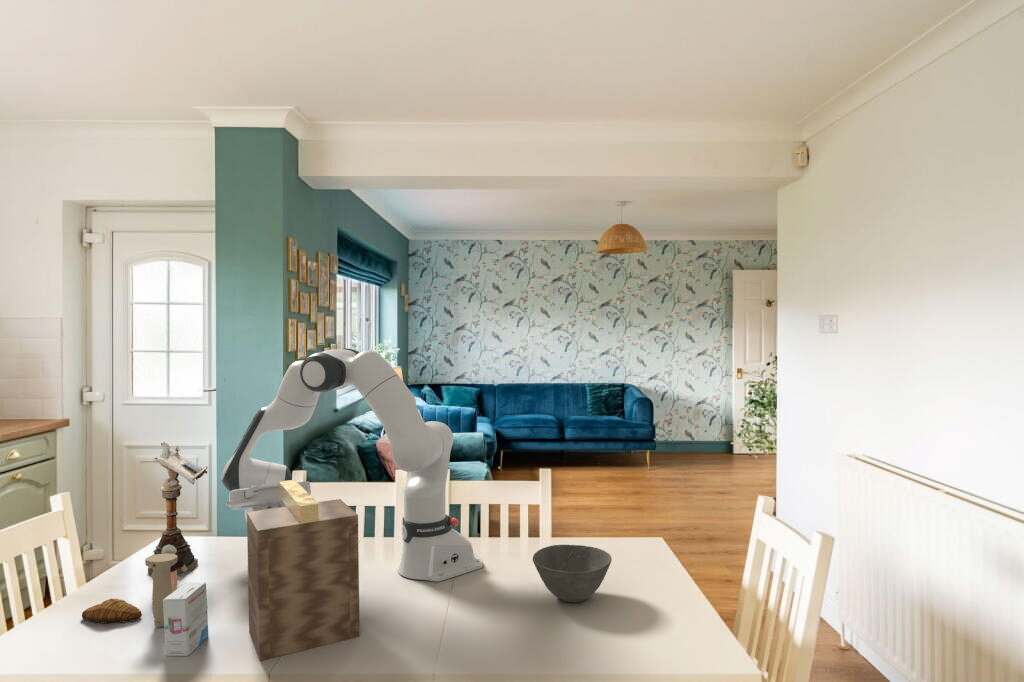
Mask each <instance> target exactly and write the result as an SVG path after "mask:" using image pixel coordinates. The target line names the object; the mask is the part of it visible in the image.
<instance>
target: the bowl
mask: <svg viewBox="0 0 1024 682" xmlns="http://www.w3.org/2000/svg"><path fill="white" fill-rule="evenodd" d="M532 562H533V564H534V566H535V569H536V571H537V572H538V575H539V577H540V579H541V580H542V582H543V584H544V585H545V588H546V589H547V590H548V591H549V592H550V593H551V594H552V595H553V596H554V597H556V598H558V599H559V600H561V601H564V602H566V603H579V602H582V601H586V600H587V599H588V598H589V597H591V596H592V595H593V594H595V593H596V592H597V590H598V589H599V588H600V586H601V585H602V583H603V582H604V579H605V578H606V575H607V572H608V570H609V568H610V566H611V563H612V556H611V555H610V553H609V552H607V551H605V550H603V549H601V548H597V547H594V546H587V545H582V544H581V545H580V544H577V545H576V544H552V545H549V546H545V547H542V548H541V549H539V550H537V551H535V553H534V554H533V556H532Z"/></svg>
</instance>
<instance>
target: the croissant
mask: <svg viewBox="0 0 1024 682" xmlns="http://www.w3.org/2000/svg"><path fill="white" fill-rule="evenodd" d="M142 616H143V614H142V611H141V609H139V608H138V607H136V606H135V605H133V604H131V603H128V602H127V601H126V600H124V599H121V598H109V599H106V600H104V601H103V602H101V603H99V604H95V605H93V606H90V607H87V608H86V609H85V610H83V611H82V613H81V618H82V619H83V620H85V621H89V622H93V623H94V622H95V623H99V624H113V623H114V624H115V623H129V622H134V621H138V620H140V619H141V618H142Z"/></svg>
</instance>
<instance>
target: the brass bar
mask: <svg viewBox="0 0 1024 682" xmlns="http://www.w3.org/2000/svg"><path fill="white" fill-rule="evenodd" d="M279 497H280V499H281V500H282V501H283V503H284V504H285V505H286V506H287V508H288V509H289V510H290V511H291V513H292V514H293V515H294V516H295V518H296V519H297V520H298V521H299V523H300V524H303V523H309V522H316V521H319V519H318V503H317V502H318V501H316V499H315V498H314V497H312V495H309V494H308V493H307V492H306V491H305V490H304V488H303V487H302V486H301V485H300V484H299V483H298V481H297V479H292V480H288V481H279Z"/></svg>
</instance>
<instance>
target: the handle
mask: <svg viewBox="0 0 1024 682" xmlns="http://www.w3.org/2000/svg"><path fill="white" fill-rule="evenodd" d="M144 561H145V563H144V564H145V566H147V568H148V567H150V568H152V569H153V578H152V595H151V596H152V597H151V598H152V600H151V602H152V604H151V605H152V606H151V607H152V608H151V609H152V614H153V619H154V620H153V622H154V626H155V627H157V628H158V629H159V628H164V614H163V599H165V598H166V597H167V596H169V595H170V594H171V593H172V586H171V574H170V567H171V566H173V565H174V564H175V563H176V562H177V555H174V554H155V555H154V554H152V555H149V556H148V557H146V558H145V559H144Z"/></svg>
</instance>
